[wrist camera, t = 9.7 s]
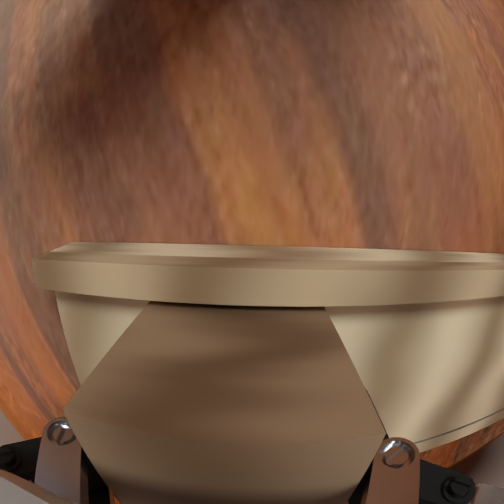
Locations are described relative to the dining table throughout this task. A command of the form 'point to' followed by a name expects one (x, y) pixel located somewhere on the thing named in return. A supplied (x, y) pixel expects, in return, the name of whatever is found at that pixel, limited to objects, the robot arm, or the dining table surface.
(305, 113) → the dining table surface
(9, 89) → the dining table surface
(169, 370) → the tan block with peg
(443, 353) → the board
